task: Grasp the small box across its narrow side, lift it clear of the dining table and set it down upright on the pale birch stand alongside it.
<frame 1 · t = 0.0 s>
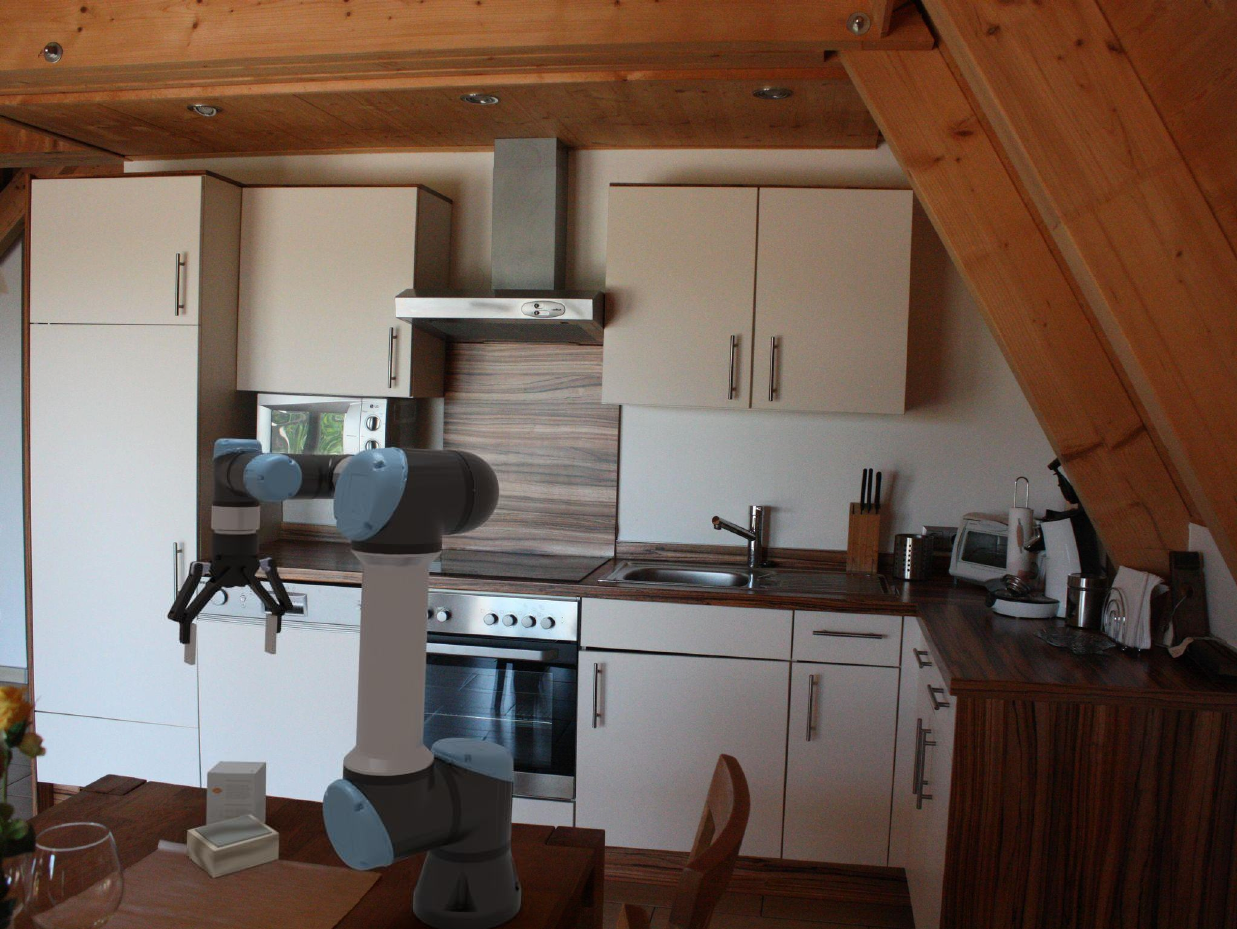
hand: (231, 658, 161), 28 cm above the table, fingers open, 13 cm apart
birch stand: (232, 857, 149), on the table
small box: (235, 830, 160), on the table
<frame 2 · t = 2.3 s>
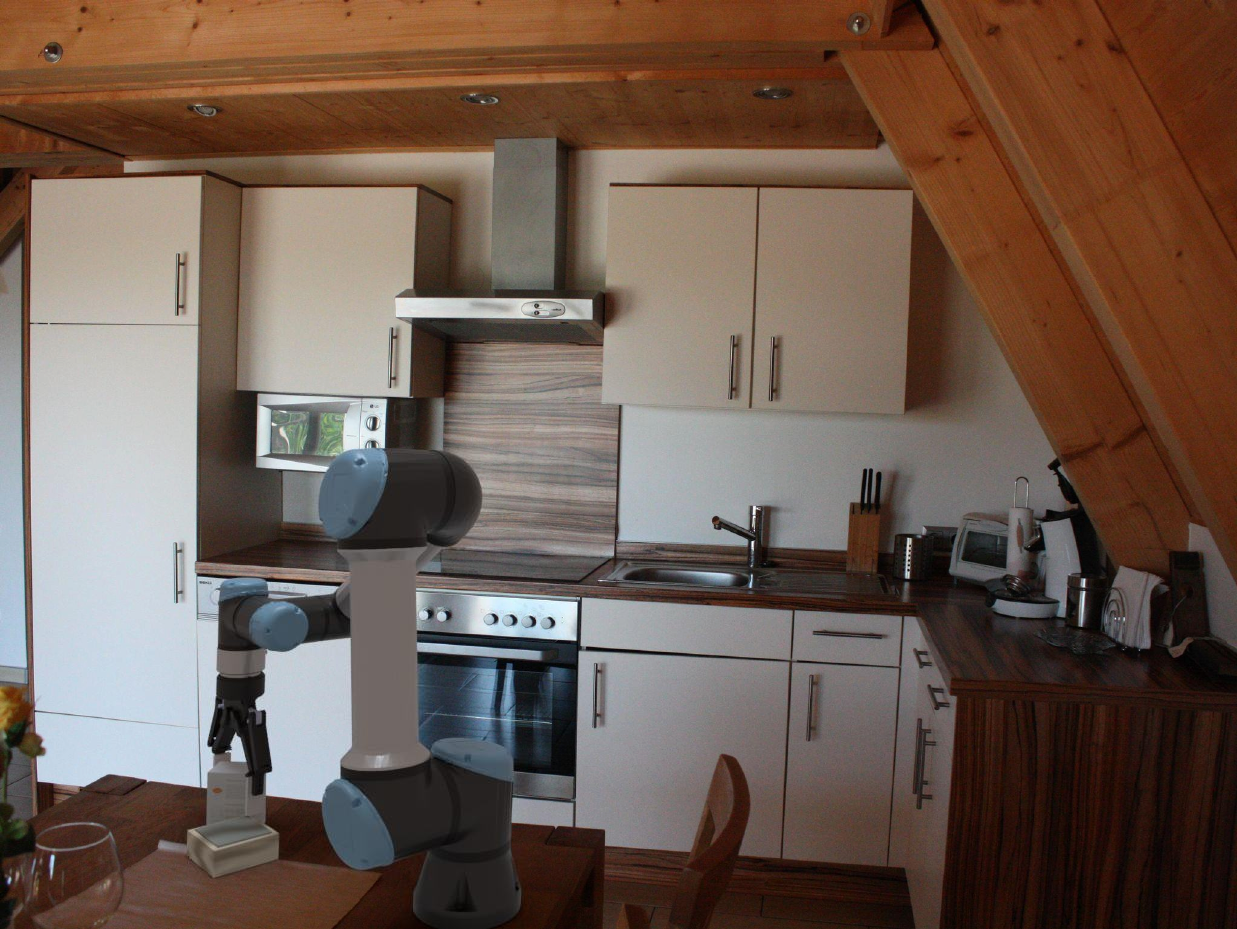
hand: (237, 802, 160), 4 cm above the table, fingers open, 12 cm apart
nothing on the table moved.
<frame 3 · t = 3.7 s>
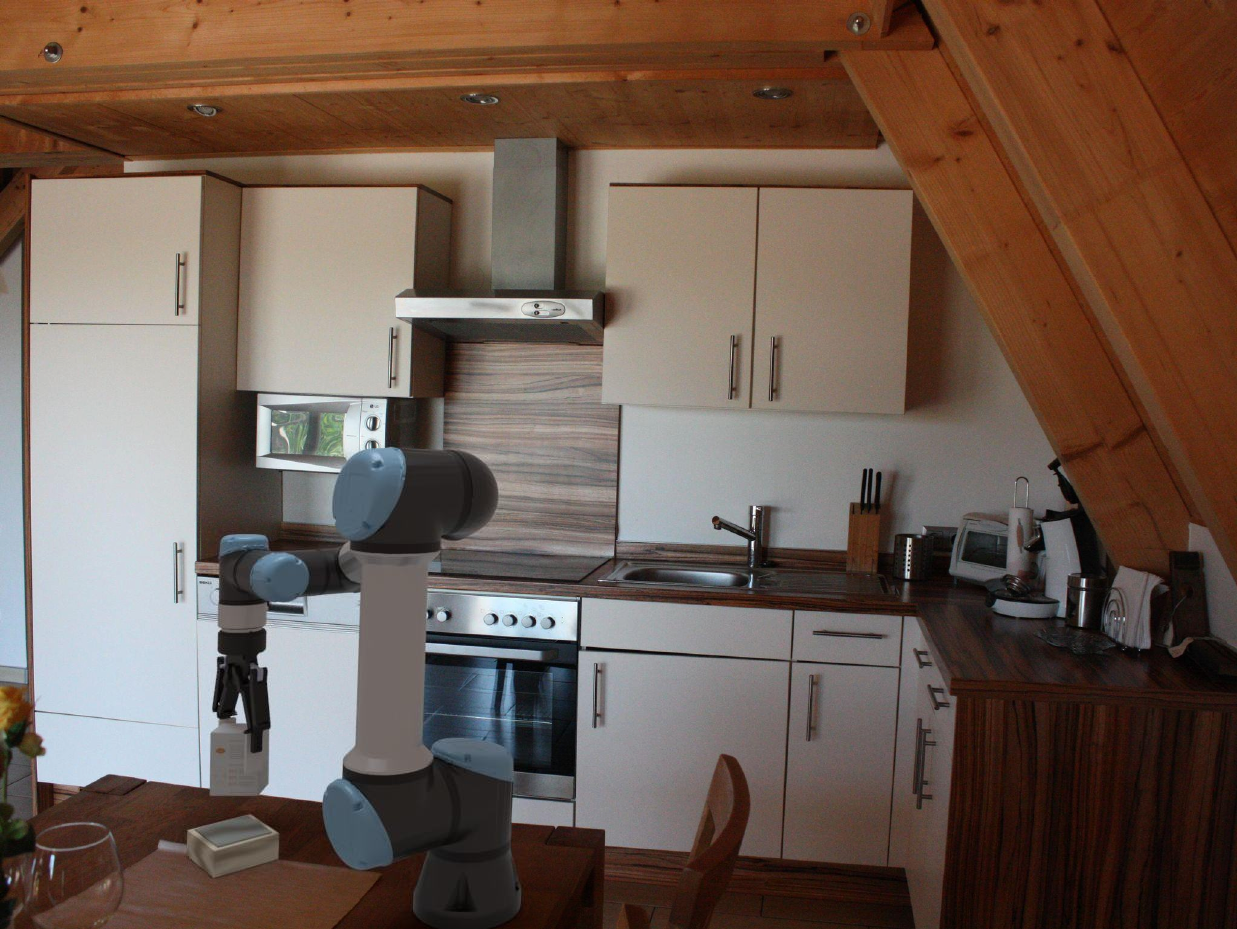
hand: (239, 764, 159), 11 cm above the table, fingers closed on small box, 9 cm apart
small box: (239, 791, 159), point 6 cm above the table, touching gripper
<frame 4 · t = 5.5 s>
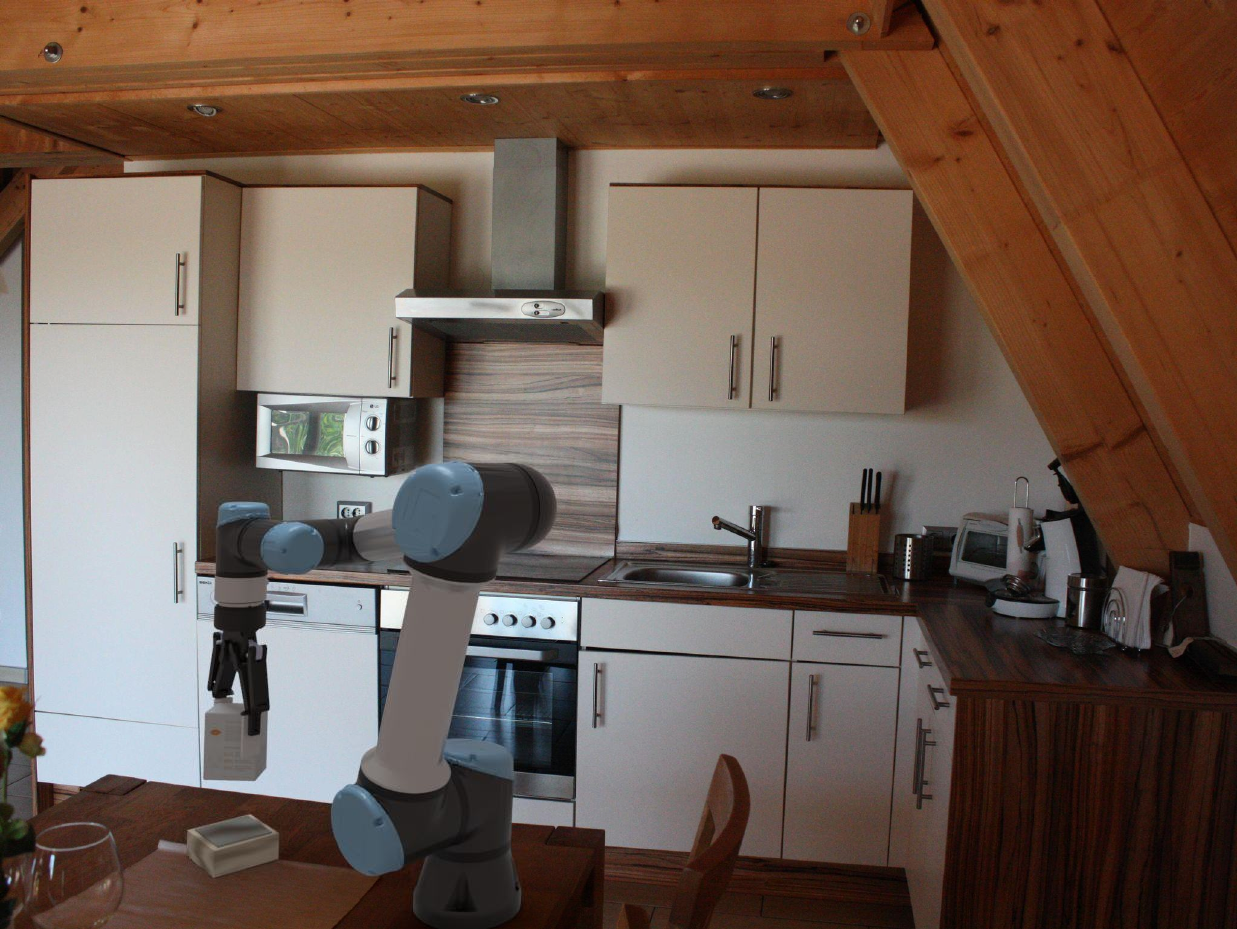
hand: (235, 747, 149), 17 cm above the table, fingers closed on small box, 9 cm apart
small box: (234, 776, 149), point 13 cm above the table, touching gripper
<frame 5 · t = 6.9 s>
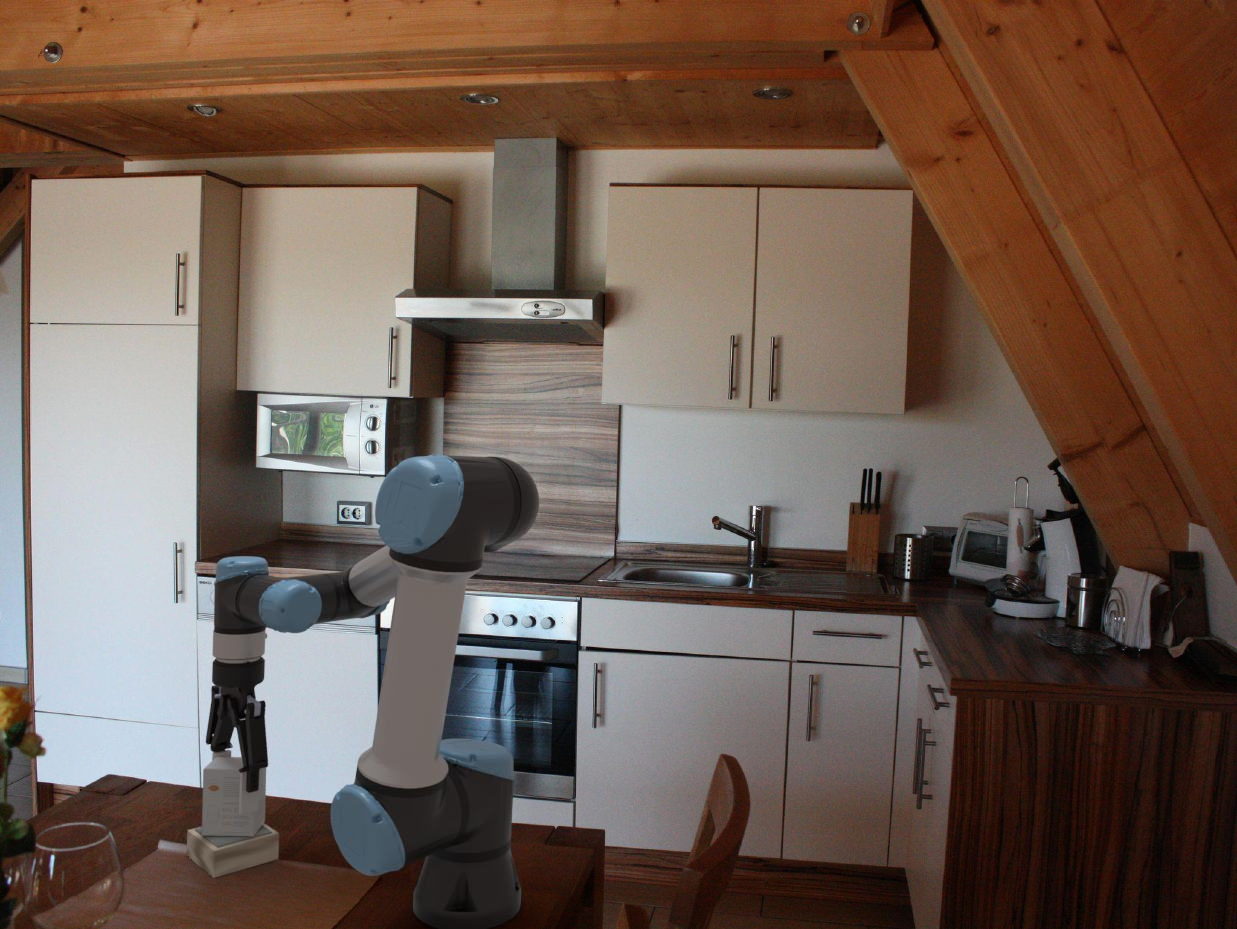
hand: (234, 801, 149), 9 cm above the table, fingers closed on small box, 9 cm apart
small box: (233, 830, 149), point 4 cm above the table, touching birch stand, gripper
when the fingers open (9 cm above the table, at t = 7.4 s): small box stays where it is, resting on birch stand.
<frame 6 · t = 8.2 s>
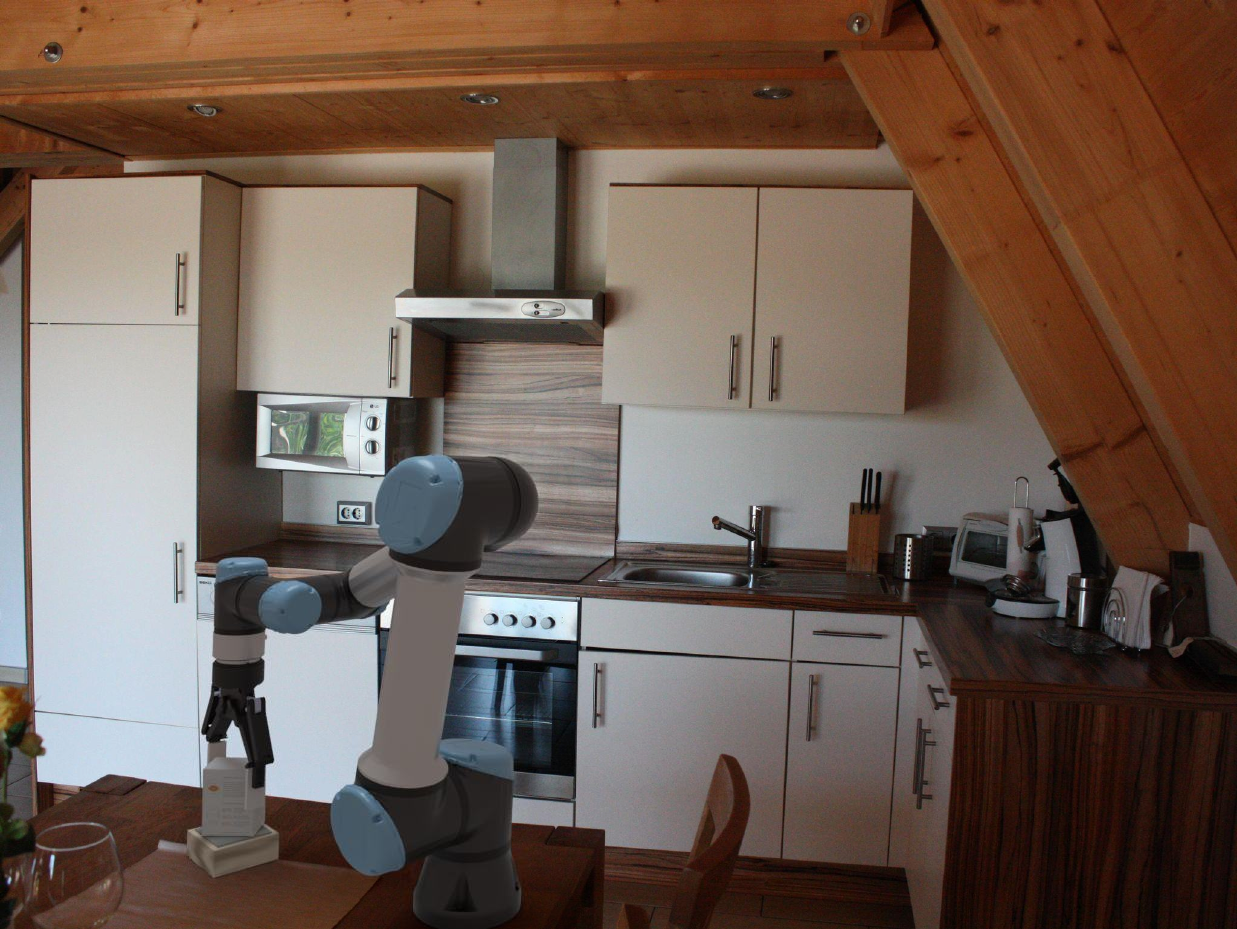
hand: (234, 795, 149), 10 cm above the table, fingers open, 13 cm apart
small box: (233, 831, 149), point 4 cm above the table, touching birch stand
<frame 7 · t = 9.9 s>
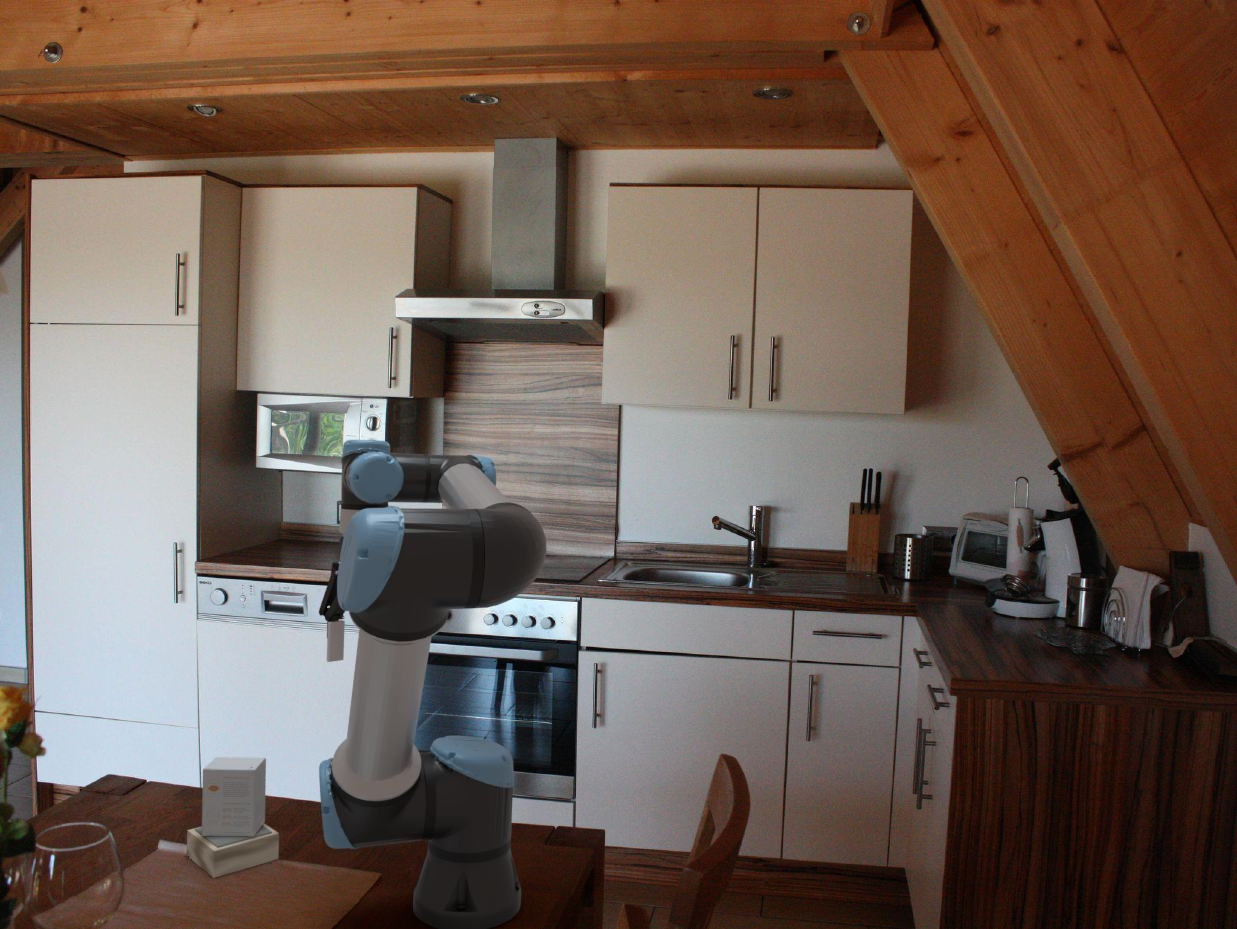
hand: (359, 667, 155), 29 cm above the table, fingers open, 13 cm apart
nothing on the table moved.
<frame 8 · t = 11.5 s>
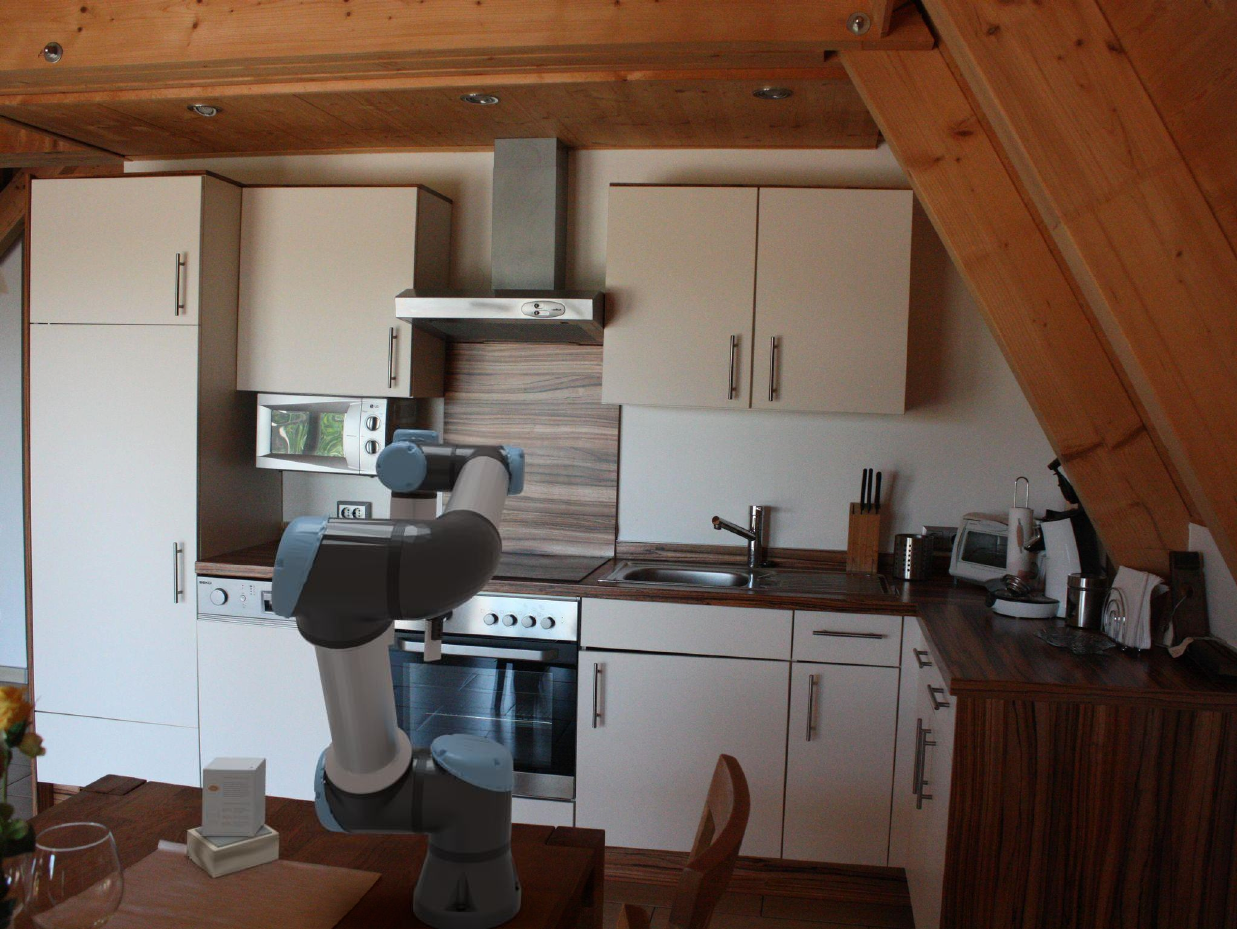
hand: (408, 652, 159), 31 cm above the table, fingers open, 13 cm apart
nothing on the table moved.
at the end: small box inside the target area on the birch stand (0.1 cm from its centre), point 4.0 cm above the birch stand's base; small box tilted 0°; the gripper is holding nothing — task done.
